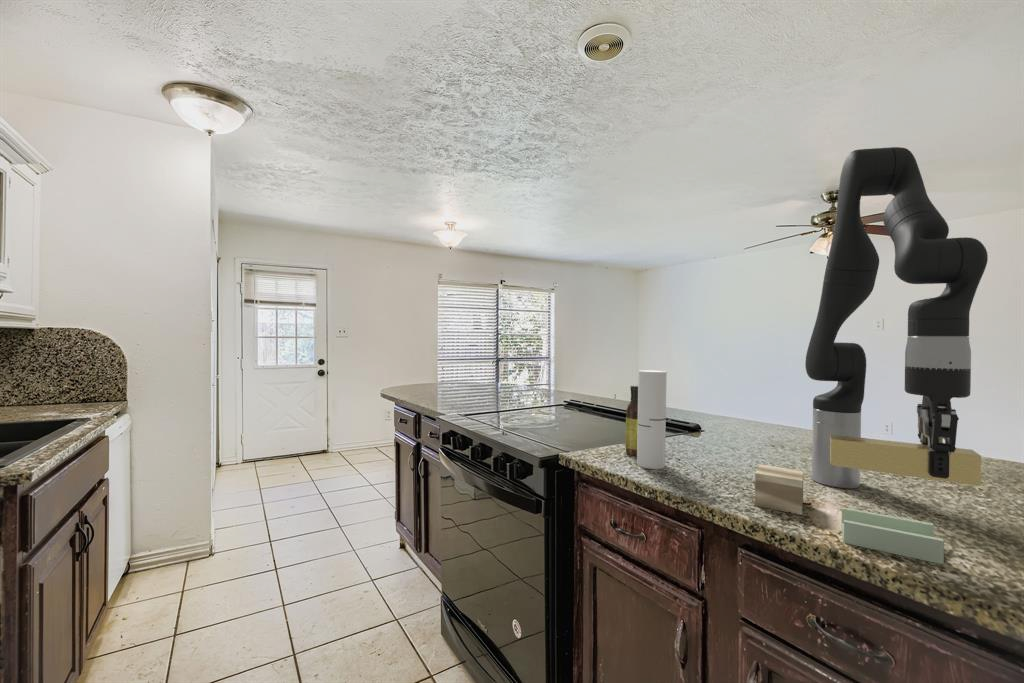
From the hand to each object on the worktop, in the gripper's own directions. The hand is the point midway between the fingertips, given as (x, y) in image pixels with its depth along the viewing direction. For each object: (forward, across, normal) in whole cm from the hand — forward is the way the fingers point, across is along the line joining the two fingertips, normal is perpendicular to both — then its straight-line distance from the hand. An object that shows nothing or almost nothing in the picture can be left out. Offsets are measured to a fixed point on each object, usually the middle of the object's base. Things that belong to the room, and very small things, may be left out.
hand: (934, 472), depth 70 cm
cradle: (+13, 0, +6) cm, 14 cm away
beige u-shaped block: (+13, +10, +22) cm, 27 cm away
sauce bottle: (+13, +32, +58) cm, 68 cm away
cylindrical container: (+13, +22, +52) cm, 58 cm away
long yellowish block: (-2, 0, +4) cm, 5 cm away
